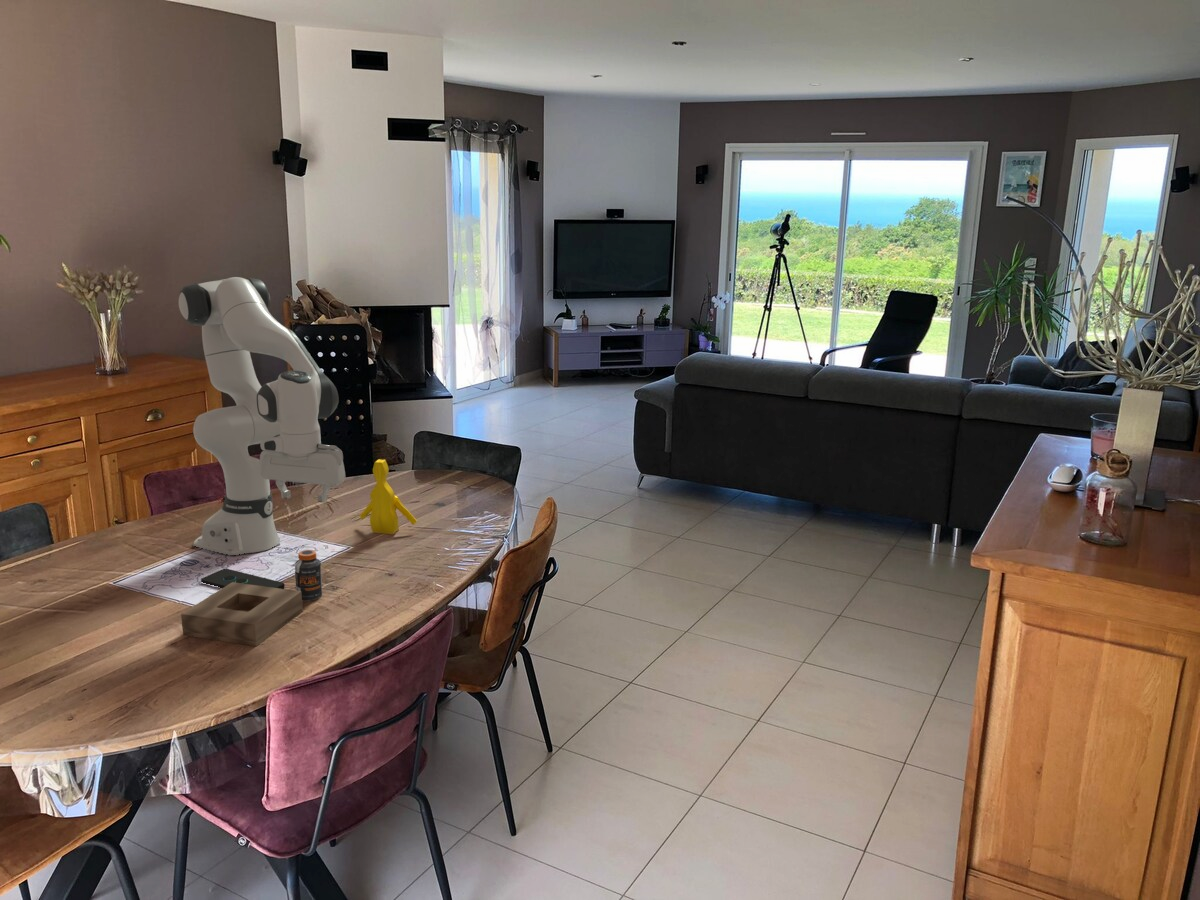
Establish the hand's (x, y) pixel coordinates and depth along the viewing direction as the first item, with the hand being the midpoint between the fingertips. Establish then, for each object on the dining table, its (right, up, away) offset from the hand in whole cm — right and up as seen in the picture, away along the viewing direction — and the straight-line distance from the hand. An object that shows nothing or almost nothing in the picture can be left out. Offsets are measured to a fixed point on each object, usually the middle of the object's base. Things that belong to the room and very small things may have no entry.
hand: (304, 499), depth 214 cm
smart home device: (-19, -22, +12) cm, 31 cm away
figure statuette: (+7, -12, +50) cm, 52 cm away
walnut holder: (-11, -27, -8) cm, 30 cm away
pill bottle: (-1, -24, +6) cm, 25 cm away
